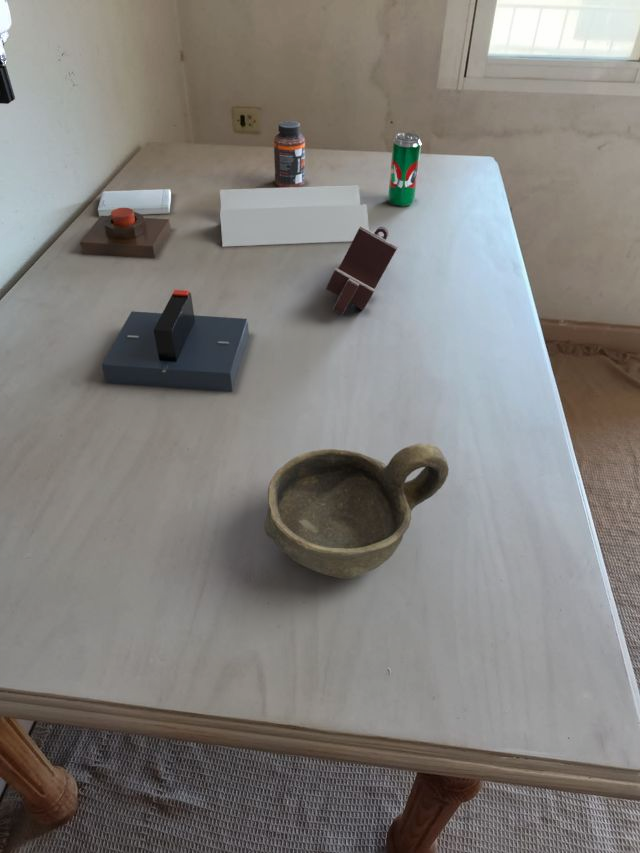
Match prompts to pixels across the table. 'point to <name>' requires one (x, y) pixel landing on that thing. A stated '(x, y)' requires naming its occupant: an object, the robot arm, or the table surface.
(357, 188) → the z bracket
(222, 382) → the lever switch
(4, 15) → the robot arm
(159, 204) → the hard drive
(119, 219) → the button
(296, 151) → the supplement bottle
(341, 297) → the bracket
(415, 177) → the soda can
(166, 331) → the black rectangular block
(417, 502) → the bowl
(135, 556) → the table surface
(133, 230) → the button base
